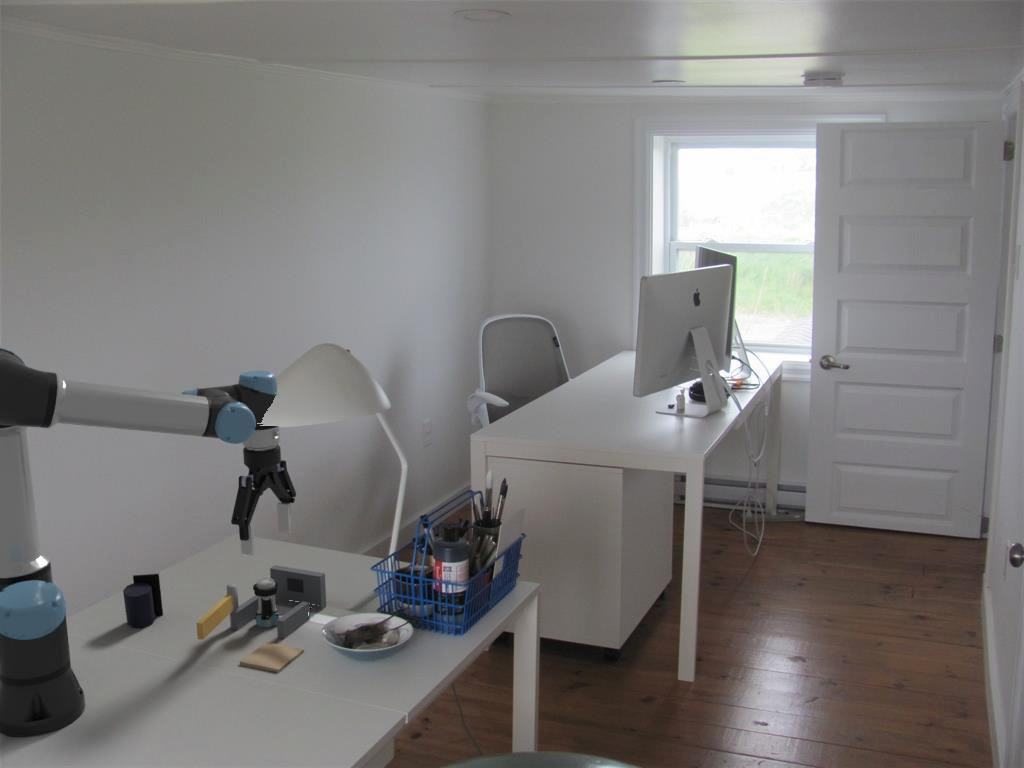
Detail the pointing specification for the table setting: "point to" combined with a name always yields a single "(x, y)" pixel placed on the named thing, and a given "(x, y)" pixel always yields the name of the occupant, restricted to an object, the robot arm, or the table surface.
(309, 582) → the cradle
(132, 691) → the table surface
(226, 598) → the wooden plank
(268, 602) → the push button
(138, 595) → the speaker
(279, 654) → the cork mat
